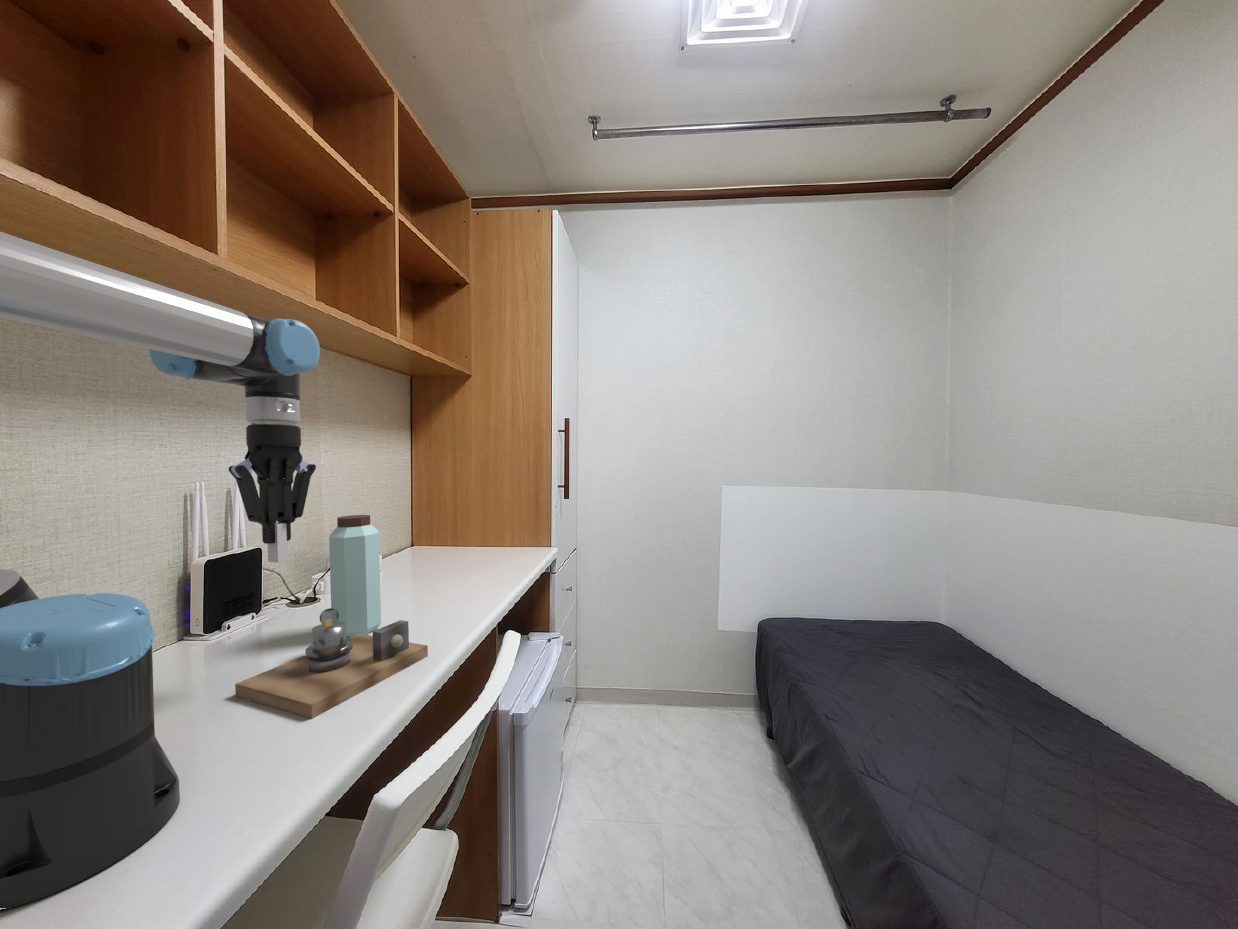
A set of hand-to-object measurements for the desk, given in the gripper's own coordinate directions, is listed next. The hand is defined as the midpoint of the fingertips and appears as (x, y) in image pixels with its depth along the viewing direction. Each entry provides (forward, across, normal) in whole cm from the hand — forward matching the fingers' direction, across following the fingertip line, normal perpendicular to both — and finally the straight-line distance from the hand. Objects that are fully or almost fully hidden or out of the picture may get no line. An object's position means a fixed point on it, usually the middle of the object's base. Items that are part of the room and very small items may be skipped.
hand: (277, 561), depth 79 cm
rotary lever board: (+20, +4, -9) cm, 22 cm away
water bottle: (+20, +20, +7) cm, 29 cm away
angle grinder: (+16, +6, -4) cm, 18 cm away
